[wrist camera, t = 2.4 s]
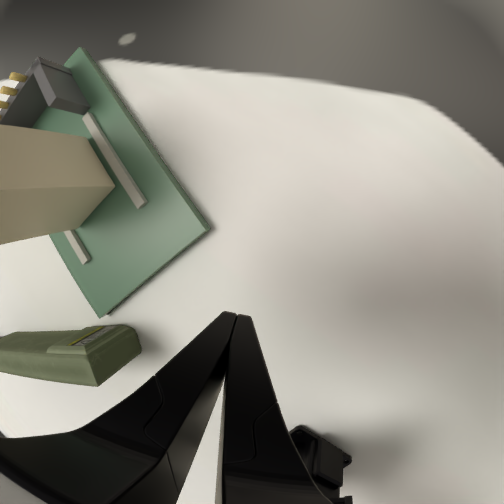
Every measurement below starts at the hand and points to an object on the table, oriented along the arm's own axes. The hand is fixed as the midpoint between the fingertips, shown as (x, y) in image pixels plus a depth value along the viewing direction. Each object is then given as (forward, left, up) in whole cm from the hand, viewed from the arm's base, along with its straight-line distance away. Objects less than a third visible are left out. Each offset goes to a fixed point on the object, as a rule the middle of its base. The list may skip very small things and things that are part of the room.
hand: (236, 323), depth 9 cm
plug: (-5, +15, -10) cm, 19 cm away
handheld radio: (-22, +12, -12) cm, 28 cm away
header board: (-5, +16, -11) cm, 20 cm away
